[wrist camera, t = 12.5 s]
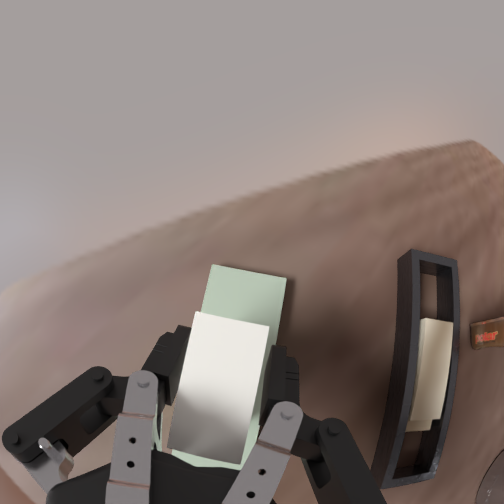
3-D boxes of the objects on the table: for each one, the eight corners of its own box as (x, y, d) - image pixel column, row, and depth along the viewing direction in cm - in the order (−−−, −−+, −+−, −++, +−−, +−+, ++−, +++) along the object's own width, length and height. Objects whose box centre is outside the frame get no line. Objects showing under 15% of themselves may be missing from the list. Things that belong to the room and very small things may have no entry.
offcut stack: (433, 324, 20) (453, 318, 18) (416, 427, 17) (436, 432, 14) (406, 319, 21) (426, 313, 18) (387, 428, 17) (406, 435, 14)
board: (284, 282, 21) (286, 278, 20) (246, 478, 15) (246, 483, 14) (213, 268, 22) (212, 264, 21) (172, 462, 15) (169, 467, 15)
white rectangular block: (258, 341, 19) (269, 326, 11) (241, 422, 16) (240, 464, 8) (215, 332, 19) (195, 311, 11) (198, 413, 16) (166, 447, 9)
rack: (441, 269, 22) (456, 260, 20) (418, 471, 15) (433, 478, 12) (397, 259, 22) (411, 248, 20) (367, 479, 15) (380, 489, 13)
